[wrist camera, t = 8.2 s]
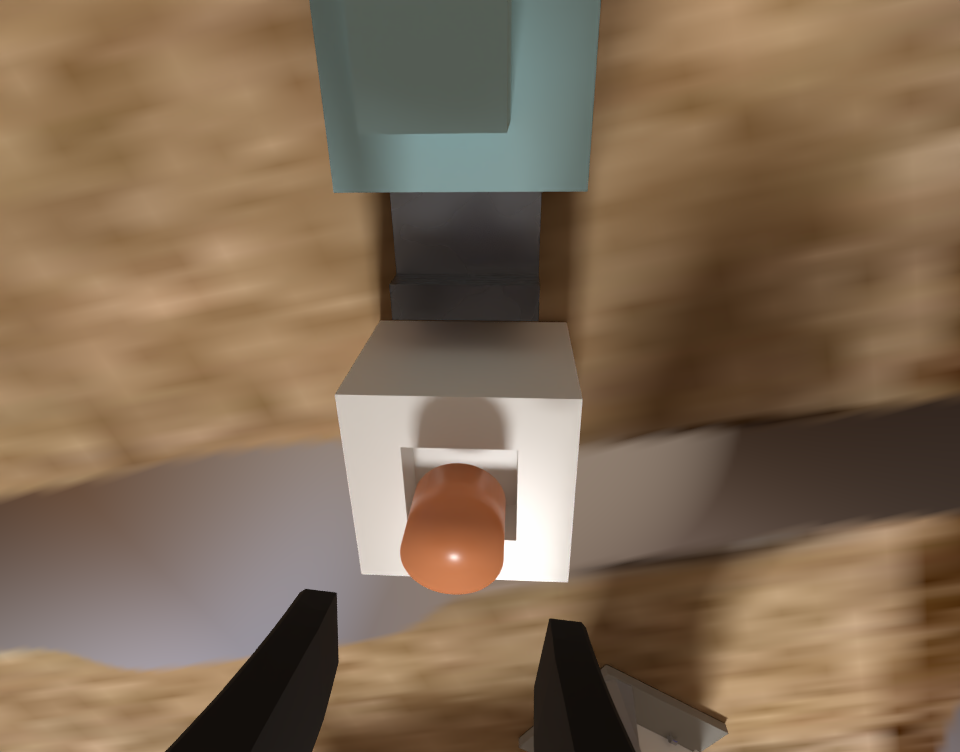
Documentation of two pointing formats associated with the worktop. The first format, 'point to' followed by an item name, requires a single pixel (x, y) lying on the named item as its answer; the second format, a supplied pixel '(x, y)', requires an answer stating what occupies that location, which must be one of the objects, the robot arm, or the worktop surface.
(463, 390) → the white button housing
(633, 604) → the worktop surface
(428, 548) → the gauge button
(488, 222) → the rail
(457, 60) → the carriage
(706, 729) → the skyscraper
